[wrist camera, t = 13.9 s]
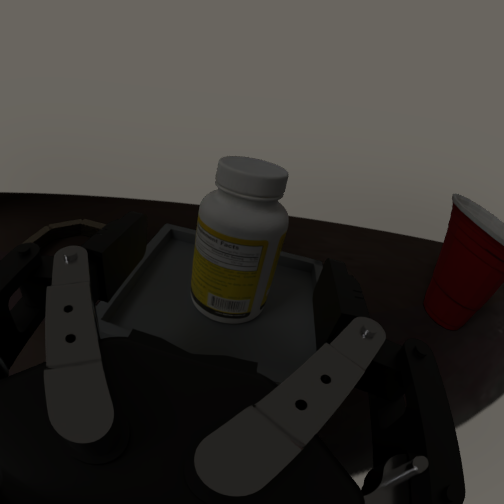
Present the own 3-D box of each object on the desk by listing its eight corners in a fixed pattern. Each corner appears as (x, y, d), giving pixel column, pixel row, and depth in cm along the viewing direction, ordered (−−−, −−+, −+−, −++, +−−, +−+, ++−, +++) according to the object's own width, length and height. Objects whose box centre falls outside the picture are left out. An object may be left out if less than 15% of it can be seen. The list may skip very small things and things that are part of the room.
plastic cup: (426, 348, 20) (499, 229, 14) (392, 278, 29) (435, 182, 23) (489, 350, 21) (548, 259, 15) (452, 292, 30) (493, 212, 24)
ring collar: (4, 272, 16) (0, 260, 16) (64, 223, 25) (64, 213, 24) (84, 310, 16) (81, 297, 16) (140, 244, 25) (140, 233, 24)
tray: (88, 341, 14) (83, 323, 14) (165, 237, 27) (166, 223, 26) (328, 403, 15) (339, 390, 14) (316, 275, 27) (321, 261, 26)
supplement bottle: (233, 269, 23) (259, 153, 19) (278, 310, 20) (321, 181, 15) (175, 287, 20) (189, 152, 15) (217, 338, 17) (249, 183, 12)
